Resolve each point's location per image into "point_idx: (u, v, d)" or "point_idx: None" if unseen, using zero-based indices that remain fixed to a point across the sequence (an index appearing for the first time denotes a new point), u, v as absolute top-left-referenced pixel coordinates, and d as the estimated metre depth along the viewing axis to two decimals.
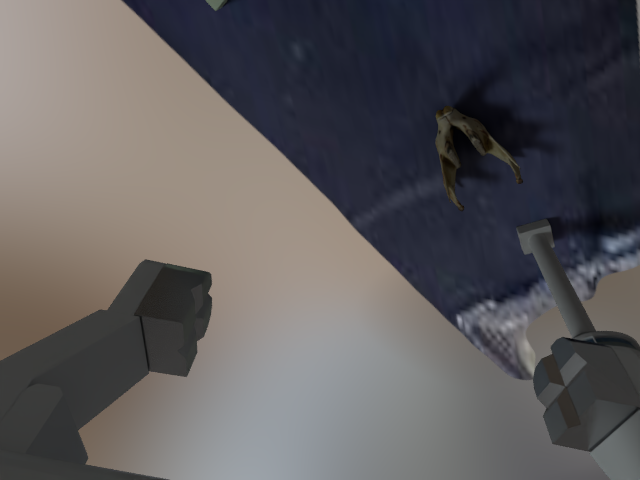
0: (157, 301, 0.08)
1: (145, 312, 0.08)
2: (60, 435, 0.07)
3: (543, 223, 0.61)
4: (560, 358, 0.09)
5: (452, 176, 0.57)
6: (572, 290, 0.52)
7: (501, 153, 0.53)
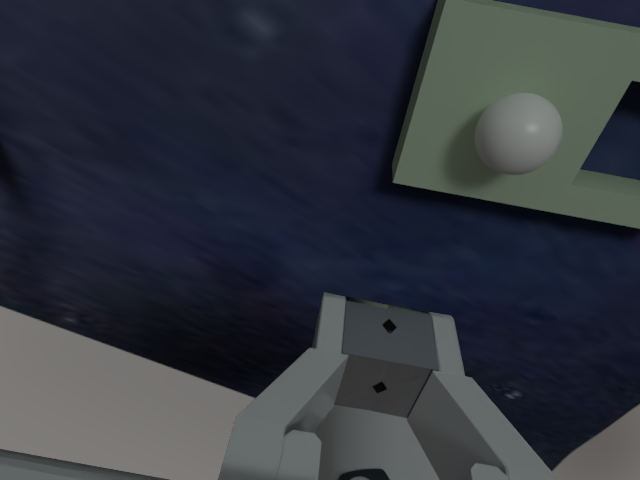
0: (357, 338, 0.08)
1: (350, 350, 0.08)
2: None
3: None
4: None
5: None
6: None
7: None
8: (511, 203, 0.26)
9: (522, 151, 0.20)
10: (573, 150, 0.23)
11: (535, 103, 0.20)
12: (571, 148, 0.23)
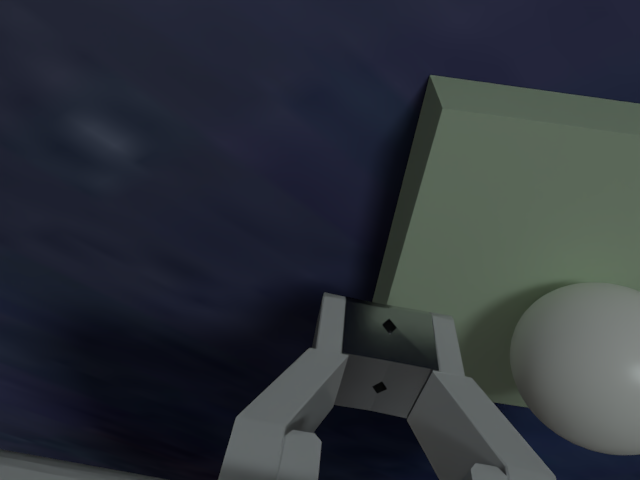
0: (357, 338, 0.08)
1: (350, 350, 0.08)
2: None
3: None
4: (383, 325, 0.09)
5: None
6: None
7: None
8: None
9: (626, 441, 0.09)
10: None
11: None
12: None
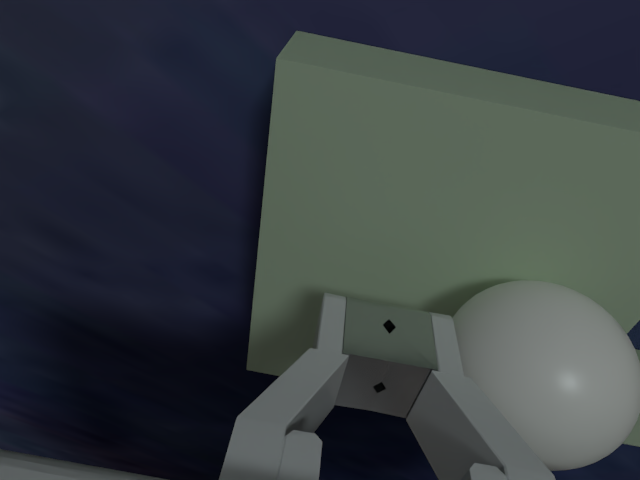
0: (358, 338, 0.08)
1: (351, 350, 0.08)
2: None
3: None
4: None
5: None
6: None
7: None
8: None
9: (618, 445, 0.08)
10: None
11: (608, 340, 0.08)
12: None
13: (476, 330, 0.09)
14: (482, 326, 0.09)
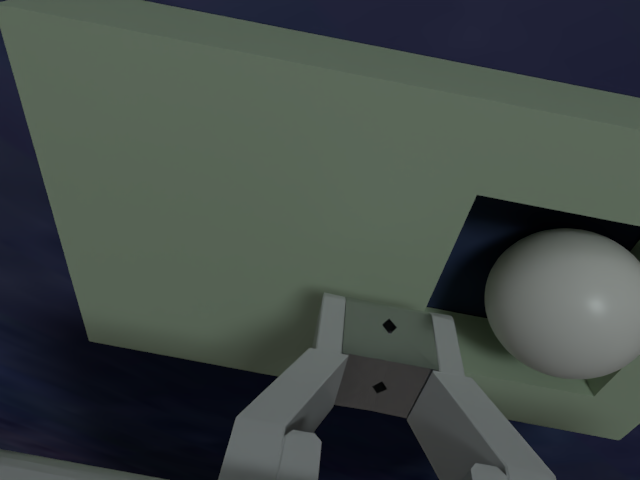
0: (357, 338, 0.08)
1: (350, 350, 0.08)
2: None
3: None
4: None
5: None
6: None
7: None
8: None
9: (491, 284, 0.12)
10: None
11: (573, 242, 0.10)
12: None
13: None
14: None
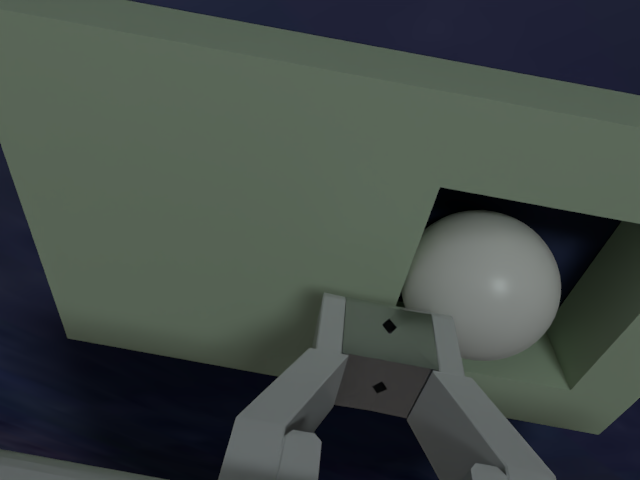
0: (357, 338, 0.08)
1: (350, 350, 0.08)
2: None
3: None
4: None
5: None
6: None
7: None
8: None
9: None
10: None
11: (482, 213, 0.11)
12: None
13: None
14: None
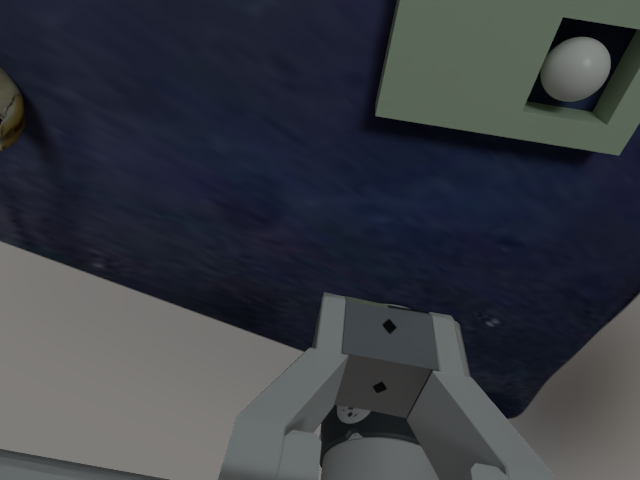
0: (357, 338, 0.08)
1: (350, 350, 0.08)
2: None
3: None
4: None
5: None
6: None
7: None
8: (474, 130, 0.31)
9: None
10: (521, 80, 0.28)
11: (577, 37, 0.27)
12: (519, 78, 0.28)
13: None
14: None
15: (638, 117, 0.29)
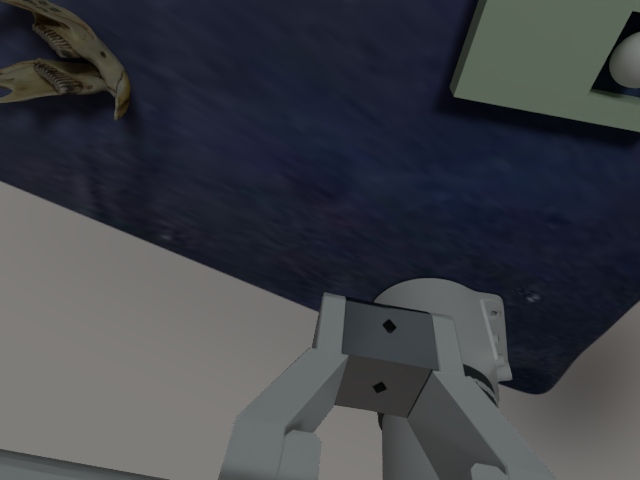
0: (357, 338, 0.08)
1: (350, 350, 0.08)
2: None
3: None
4: None
5: None
6: None
7: (23, 82, 0.37)
8: (542, 112, 0.35)
9: (613, 51, 0.33)
10: (589, 67, 0.32)
11: None
12: (588, 65, 0.32)
13: None
14: None
15: None
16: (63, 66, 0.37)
